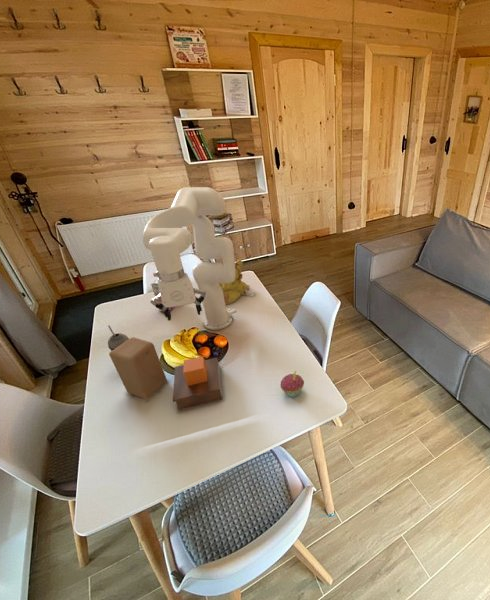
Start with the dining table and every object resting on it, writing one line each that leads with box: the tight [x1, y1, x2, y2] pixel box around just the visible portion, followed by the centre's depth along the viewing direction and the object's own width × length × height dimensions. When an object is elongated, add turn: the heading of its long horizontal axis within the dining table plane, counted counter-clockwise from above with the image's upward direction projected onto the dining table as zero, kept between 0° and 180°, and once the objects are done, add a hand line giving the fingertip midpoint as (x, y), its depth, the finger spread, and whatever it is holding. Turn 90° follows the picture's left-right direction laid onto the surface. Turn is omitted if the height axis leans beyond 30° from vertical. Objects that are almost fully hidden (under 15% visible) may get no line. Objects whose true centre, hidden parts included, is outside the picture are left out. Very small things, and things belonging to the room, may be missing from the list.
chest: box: [175, 362, 223, 411], centre depth 125 cm, size 14×17×5 cm
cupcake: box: [279, 370, 305, 397], centre depth 123 cm, size 9×8×12 cm
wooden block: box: [108, 336, 168, 400], centre depth 121 cm, size 10×10×20 cm
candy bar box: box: [150, 277, 175, 313], centre depth 168 cm, size 11×5×16 cm, turn 172°
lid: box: [172, 357, 220, 403], centre depth 123 cm, size 15×17×1 cm
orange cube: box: [183, 355, 207, 386], centre depth 121 cm, size 7×7×7 cm
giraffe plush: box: [219, 259, 255, 305], centre depth 178 cm, size 20×24×19 cm
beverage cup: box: [107, 324, 130, 352], centre depth 130 cm, size 7×7×20 cm
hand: (184, 315), depth 119 cm, fingers open, 9 cm apart
